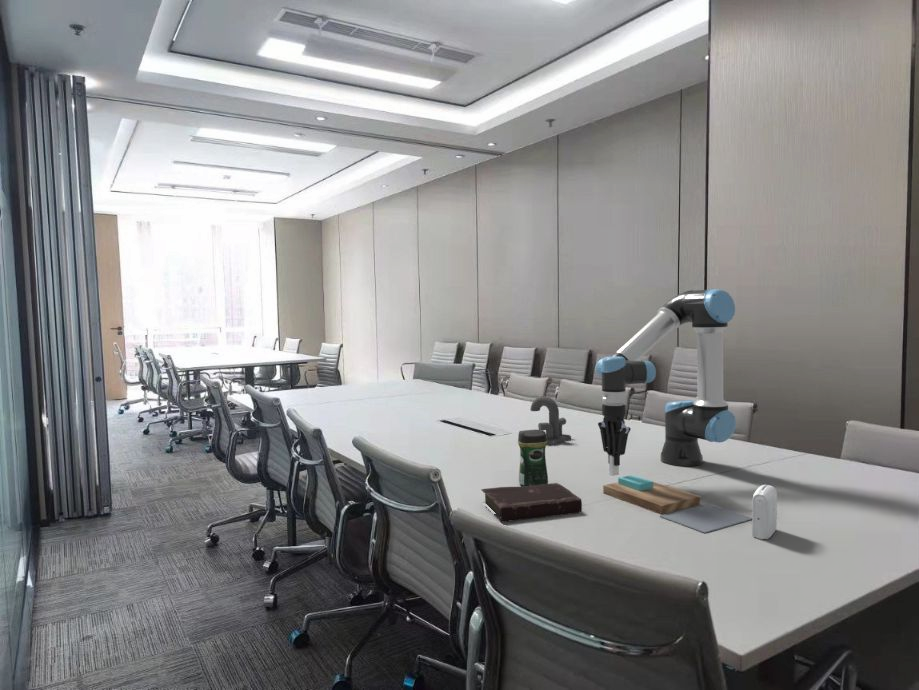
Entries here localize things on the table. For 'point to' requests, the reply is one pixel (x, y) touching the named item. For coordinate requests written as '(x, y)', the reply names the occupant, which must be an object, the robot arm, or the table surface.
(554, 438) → the faucet
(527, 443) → the coffee jar
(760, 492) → the photo printer
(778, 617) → the table surface
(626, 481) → the turquoise flat block
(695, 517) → the mat
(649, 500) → the wooden board
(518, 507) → the diary
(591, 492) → the table surface
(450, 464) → the table surface
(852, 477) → the table surface
